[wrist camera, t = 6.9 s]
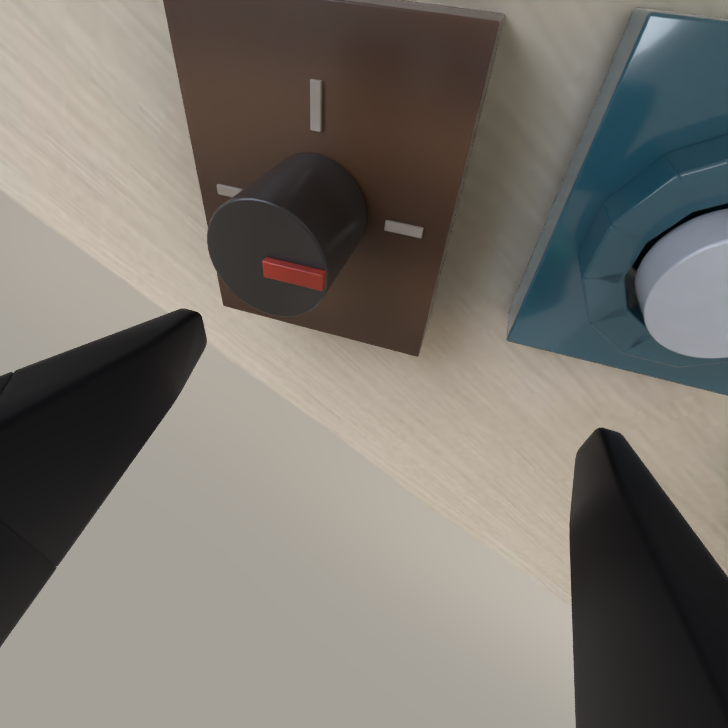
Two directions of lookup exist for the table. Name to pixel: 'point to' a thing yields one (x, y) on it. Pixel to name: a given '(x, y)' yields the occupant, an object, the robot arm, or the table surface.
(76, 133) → the table surface
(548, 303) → the teal button mount
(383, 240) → the dial panel
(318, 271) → the supply dial
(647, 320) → the flush button
